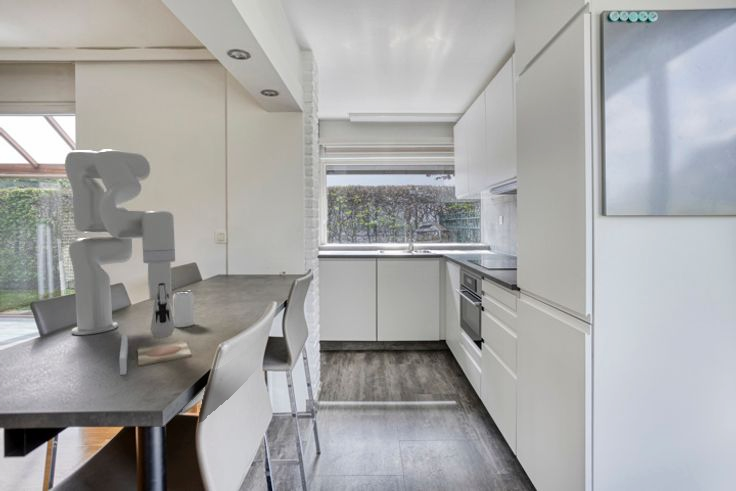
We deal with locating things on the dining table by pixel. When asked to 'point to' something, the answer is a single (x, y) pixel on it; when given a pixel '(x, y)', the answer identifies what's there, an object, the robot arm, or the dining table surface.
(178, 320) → the can
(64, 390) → the dining table surface
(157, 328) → the salt shaker
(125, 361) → the acrylic wall
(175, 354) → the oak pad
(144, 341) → the dining table surface
